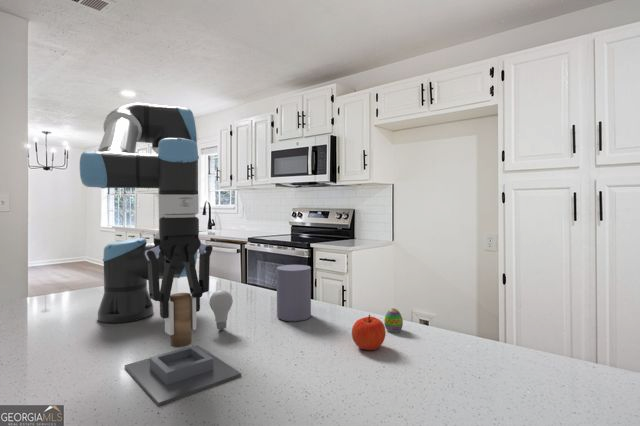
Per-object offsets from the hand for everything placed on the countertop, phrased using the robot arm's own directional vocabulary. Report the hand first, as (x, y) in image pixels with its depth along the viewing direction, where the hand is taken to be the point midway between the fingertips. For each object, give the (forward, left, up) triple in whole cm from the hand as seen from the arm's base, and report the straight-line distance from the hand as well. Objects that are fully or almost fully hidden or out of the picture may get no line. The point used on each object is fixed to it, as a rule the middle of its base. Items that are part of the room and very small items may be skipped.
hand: (180, 330), depth 76 cm
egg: (+15, +52, -9) cm, 55 cm away
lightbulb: (-17, +18, -9) cm, 26 cm away
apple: (+18, +38, -9) cm, 43 cm away
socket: (0, 0, -9) cm, 9 cm away
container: (-13, +40, -9) cm, 43 cm away
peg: (0, 0, -3) cm, 3 cm away
